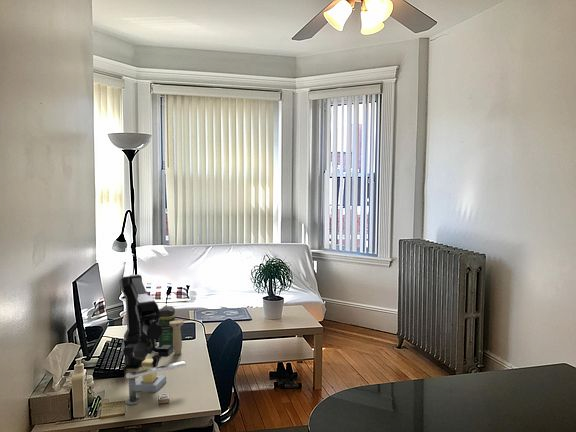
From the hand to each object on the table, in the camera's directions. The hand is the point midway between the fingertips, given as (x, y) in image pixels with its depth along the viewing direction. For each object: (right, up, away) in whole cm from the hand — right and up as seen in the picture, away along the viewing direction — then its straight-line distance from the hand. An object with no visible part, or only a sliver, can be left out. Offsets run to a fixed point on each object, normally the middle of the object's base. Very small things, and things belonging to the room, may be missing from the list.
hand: (149, 371), depth 191 cm
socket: (0, -6, 0) cm, 6 cm away
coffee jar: (-5, -3, +50) cm, 50 cm away
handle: (+3, -3, +36) cm, 37 cm away
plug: (0, -4, 0) cm, 4 cm away
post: (-2, -7, -13) cm, 15 cm away
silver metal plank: (+5, +3, -9) cm, 11 cm away
